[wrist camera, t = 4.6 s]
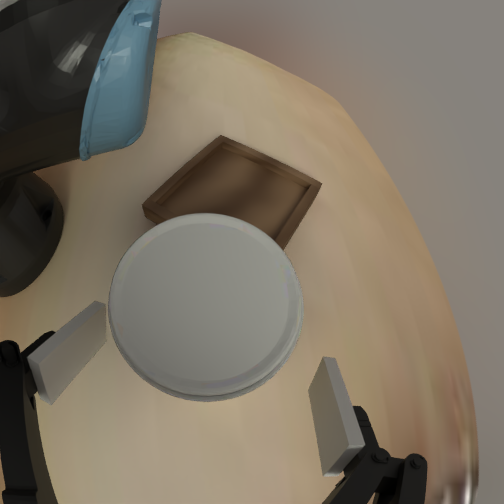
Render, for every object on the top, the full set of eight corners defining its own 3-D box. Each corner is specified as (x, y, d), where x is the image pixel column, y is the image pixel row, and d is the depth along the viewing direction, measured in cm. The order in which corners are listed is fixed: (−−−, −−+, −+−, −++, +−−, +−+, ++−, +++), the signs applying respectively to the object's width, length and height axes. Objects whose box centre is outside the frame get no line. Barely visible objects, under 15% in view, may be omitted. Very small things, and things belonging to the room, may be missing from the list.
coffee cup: (286, 346, 23) (346, 298, 13) (206, 420, 19) (197, 446, 8) (213, 273, 25) (215, 181, 15) (133, 336, 21) (71, 279, 11)
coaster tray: (145, 216, 28) (141, 204, 26) (219, 146, 34) (220, 135, 33) (260, 286, 25) (264, 277, 24) (317, 194, 32) (322, 183, 30)
